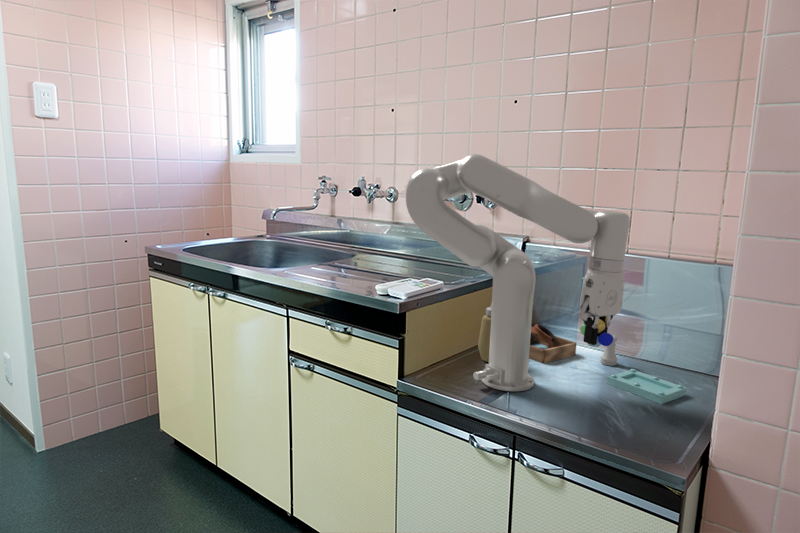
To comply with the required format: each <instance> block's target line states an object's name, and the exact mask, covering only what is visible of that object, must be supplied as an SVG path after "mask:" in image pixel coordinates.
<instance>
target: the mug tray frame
mask: <svg viewBox="0 0 800 533" xmlns="http://www.w3.org/2000/svg"><path fill="white" fill-rule="evenodd" d="M536 336H537V337H536V340H535V341H534V343H535V342H536V343H538V344H540V345H541V344H542V345H544V346H547V347H548V348H549V343H547V342H546V341H543V340H542V339H540V338H538V335H536ZM554 336H555V337H556V340H555V341H554V347H553V348H549V349H548V348H545V349H542V348H540V347H537V346H534V345H533V344H532V345H530V353H529V360H532V361H535V362H538V363H540V364H543V363H544V364H547V363H550V362H554V361H555V362H556V361H558V360H562V359H565V358H570V357H574V356H576V353H577V342H574V341H572V340H569V339H566V338H563V337H560V336H556V335H554Z"/></svg>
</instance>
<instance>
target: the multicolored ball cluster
mask: <svg viewBox="0 0 800 533" xmlns="http://www.w3.org/2000/svg"><path fill="white" fill-rule="evenodd" d="M597 328H598V333H600V332H602V331H603V330H604V329H605V323H604V322H603V321H602V320H600V319H598V324H597ZM579 330H580V334H582V335H583V336H584V332H585V325H584V323H583V324H582V325H581V326H580V329H579ZM612 342H613V336H612V334H611V333H608V332H607V333H602V334H601V335H600V336H597V343H596V345H591V344H589V343H586V344H587V345H588V346H589V347H592V348H598V347H600V346H604V347H605V346H609V345H610V344H611V343H612Z"/></svg>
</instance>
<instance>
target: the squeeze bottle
mask: <svg viewBox="0 0 800 533" xmlns="http://www.w3.org/2000/svg"><path fill="white" fill-rule="evenodd" d="M491 309H492V302H491V303H490V306H488V307H486V308H485V315H483V316H482V318H481V324H480V329H479V330H480V331H479V336H478V343H477V347H478V348H477V349H478V352H479V355H480V358H481V360H482V361H484V362H486V363H487V362H488V363H489V350H490V331H491Z"/></svg>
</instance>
